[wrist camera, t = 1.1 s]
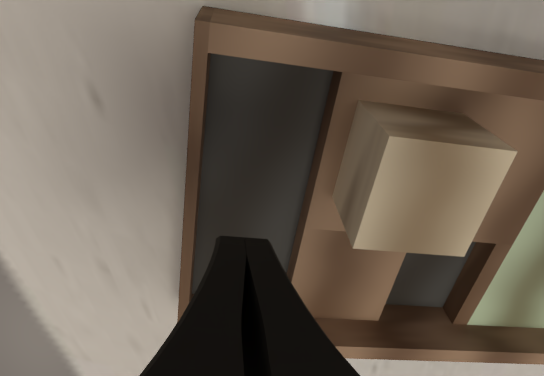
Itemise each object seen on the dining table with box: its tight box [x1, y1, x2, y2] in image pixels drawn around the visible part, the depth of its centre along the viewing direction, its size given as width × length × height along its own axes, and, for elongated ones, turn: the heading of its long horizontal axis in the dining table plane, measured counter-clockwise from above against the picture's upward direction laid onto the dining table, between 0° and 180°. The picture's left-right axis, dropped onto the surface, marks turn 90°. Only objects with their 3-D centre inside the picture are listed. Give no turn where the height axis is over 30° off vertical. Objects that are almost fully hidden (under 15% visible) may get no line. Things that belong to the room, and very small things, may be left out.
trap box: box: [177, 6, 544, 364], centre depth 21 cm, size 26×17×4 cm, turn 81°
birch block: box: [332, 100, 518, 257], centre depth 17 cm, size 5×5×4 cm
